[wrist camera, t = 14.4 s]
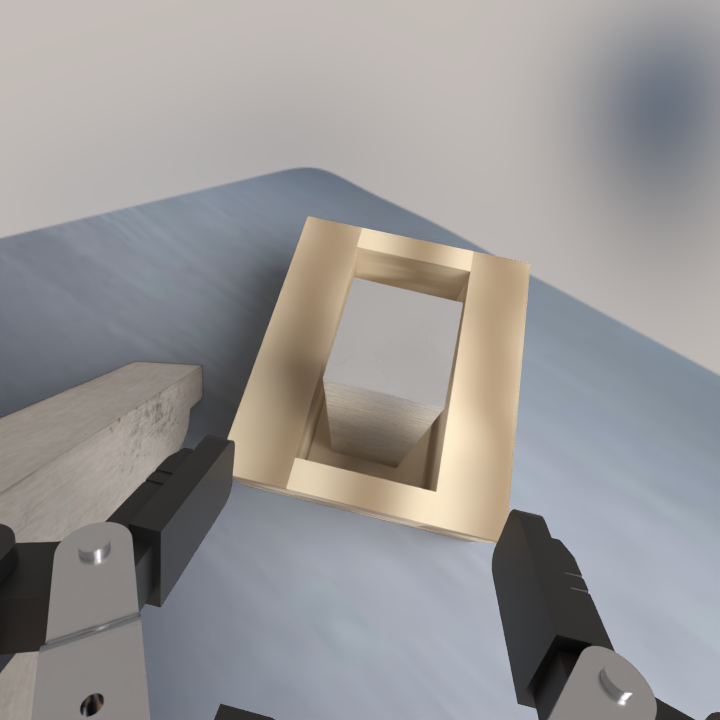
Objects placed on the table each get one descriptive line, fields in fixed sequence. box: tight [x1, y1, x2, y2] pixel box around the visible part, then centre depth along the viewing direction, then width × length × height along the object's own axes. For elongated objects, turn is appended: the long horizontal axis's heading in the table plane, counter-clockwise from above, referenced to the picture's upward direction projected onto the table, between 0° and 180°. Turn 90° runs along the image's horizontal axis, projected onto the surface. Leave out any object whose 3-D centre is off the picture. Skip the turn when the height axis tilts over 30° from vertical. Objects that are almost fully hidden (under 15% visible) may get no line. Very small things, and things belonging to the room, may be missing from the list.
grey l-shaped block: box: [323, 277, 463, 468], centre depth 21 cm, size 4×10×13 cm, turn 166°
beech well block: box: [228, 216, 530, 543], centre depth 25 cm, size 14×16×6 cm
